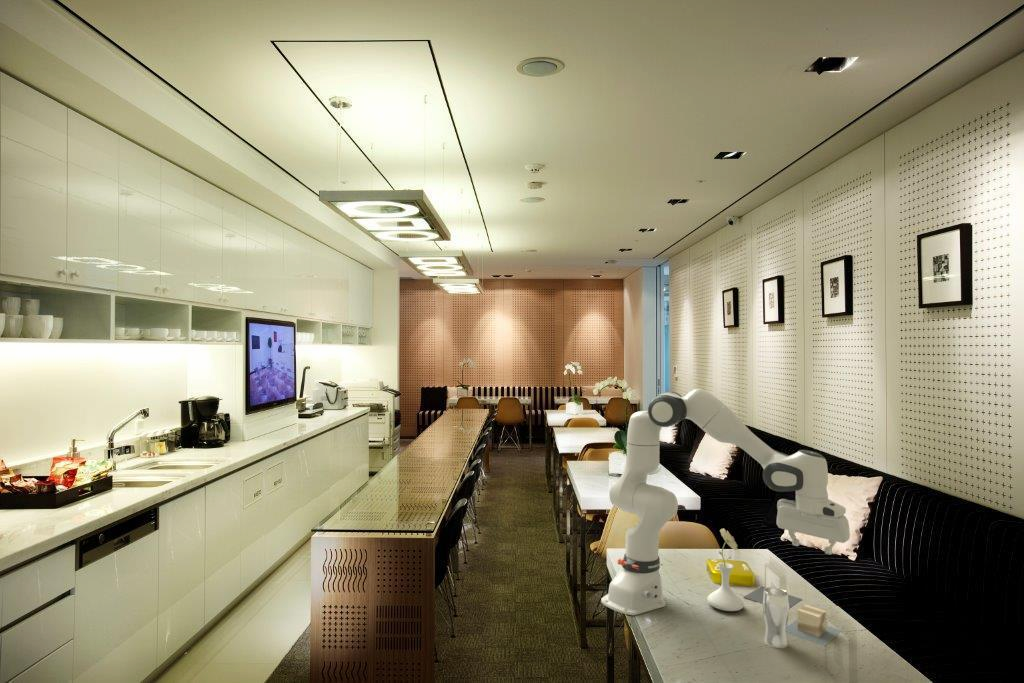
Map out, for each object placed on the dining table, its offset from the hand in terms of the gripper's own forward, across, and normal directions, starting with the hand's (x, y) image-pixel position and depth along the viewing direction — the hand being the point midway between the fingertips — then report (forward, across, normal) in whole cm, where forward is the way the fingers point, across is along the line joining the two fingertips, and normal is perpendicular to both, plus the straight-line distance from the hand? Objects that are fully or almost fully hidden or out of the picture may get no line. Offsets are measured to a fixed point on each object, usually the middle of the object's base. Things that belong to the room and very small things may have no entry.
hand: (811, 549), depth 175 cm
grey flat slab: (+25, 0, -1) cm, 25 cm away
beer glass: (+24, -4, -17) cm, 30 cm away
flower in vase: (+25, -26, -5) cm, 36 cm away
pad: (+25, -18, +13) cm, 33 cm away
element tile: (+26, -37, +20) cm, 49 cm away
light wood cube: (+24, 0, -1) cm, 25 cm away
